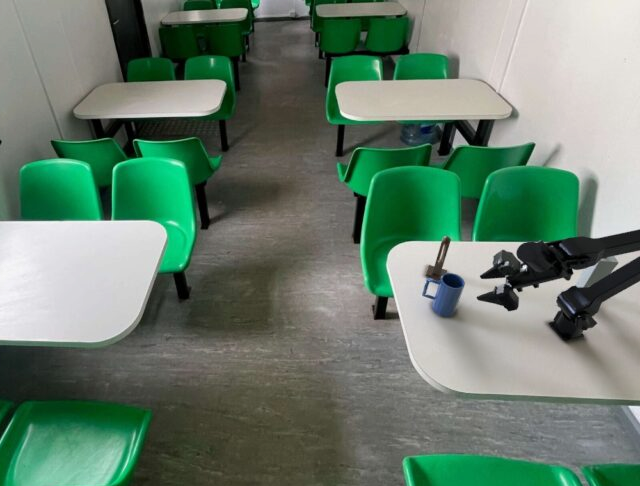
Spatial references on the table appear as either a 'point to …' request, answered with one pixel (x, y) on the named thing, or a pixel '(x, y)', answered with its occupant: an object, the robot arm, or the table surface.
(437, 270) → the mug rack
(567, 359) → the table surface
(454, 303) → the mug
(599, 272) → the vintage mobile phone
